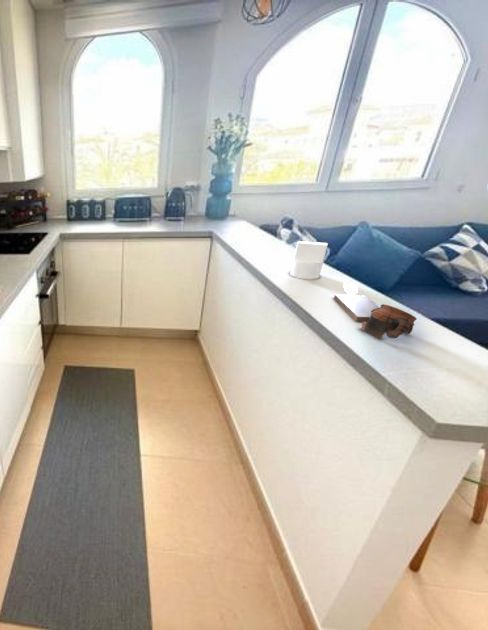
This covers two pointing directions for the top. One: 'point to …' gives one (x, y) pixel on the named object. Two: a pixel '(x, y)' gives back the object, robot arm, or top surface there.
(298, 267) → the cylinder with rectangular tab
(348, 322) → the top surface
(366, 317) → the cutting board
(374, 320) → the pottery mug
